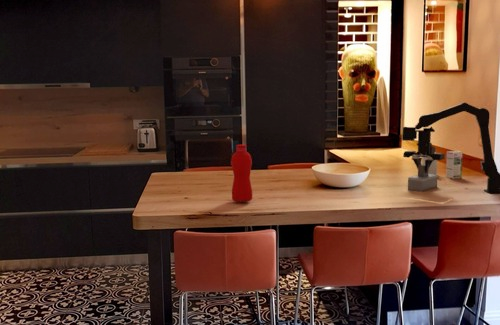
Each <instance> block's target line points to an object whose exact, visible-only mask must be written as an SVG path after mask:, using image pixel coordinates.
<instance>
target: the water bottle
mask: <svg viewBox="0 0 500 325" xmlns="http://www.w3.org/2000/svg"><path fill="white" fill-rule="evenodd" d="M235 148H236V151H235V152H234V153H233V154H232V156H231V162H230V164H231V168H232V174H233V180H232V181H233V182H232V187H231V199H232V201H233V202H236V203H237V202H250V201H253V187H252V184H251V179H250V178H251V171H252V164H253V161H252V155H251V154H250V153H249V152H248V151H247V145H246V144H236V147H235Z"/></svg>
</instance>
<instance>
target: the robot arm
mask: <svg viewBox="0 0 500 325" xmlns="http://www.w3.org/2000/svg"><path fill="white" fill-rule="evenodd" d="M462 112H466V113H468V114H471V115H473V116H474V118H475V119H476V123H477V125H478V127H479V134H480V140H481V148H482V154H483V159H482V160H480V161H479V163H480V165H481V167H480V169H481V172H483V173H484V174H485V176H487V182H486V184H487V185H486V189H483V191H484V192H486V193H488V194H500V172H499V171H498V166H497V164H496V162H495V159H494V156H493V150H492V149H493V148H492V143H491V137H490V129H489V127H490V111H489V110H488V109H487V108H485V107H476V106H473V105H471V104H469V103H467V102H461V103H459V104H456V105H453V106H451V107H448V108H445V109H442V110H441V111H436V112H433V113H426V114H423V115H421V116H420V117H419V119H418V122H417V124H416V125H414V126H403V127H402V134H401V137H402V138H401V141H403V142H404V141H406V142H407V141H411V142H414V141H415V140H416V139H417V143H416V146H417V151H415V150H405V151H404V152H403V158H411V161H413V163H414V164H415V166H416V169H417V170H418V165H421V164H422V157H427V160H425V172H426V173H427V172H428V170H429V168H430V165H431V163H432V162H433V161H434V160H437V161H442V160H446V159H445V158H446V155H445V154H444V153H442V152H436V147H434V146H433V143H432V142H431V135H432V134H431V133H435V131H436V130H435V129H434V128H433V126H431V125H434V124H435V123H437V122H439V121H440V120H443V119H446V118H449V117H451V116H454V115H457V114H459V113H462ZM422 128H423V129H422ZM435 152H436V153H435Z"/></svg>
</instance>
